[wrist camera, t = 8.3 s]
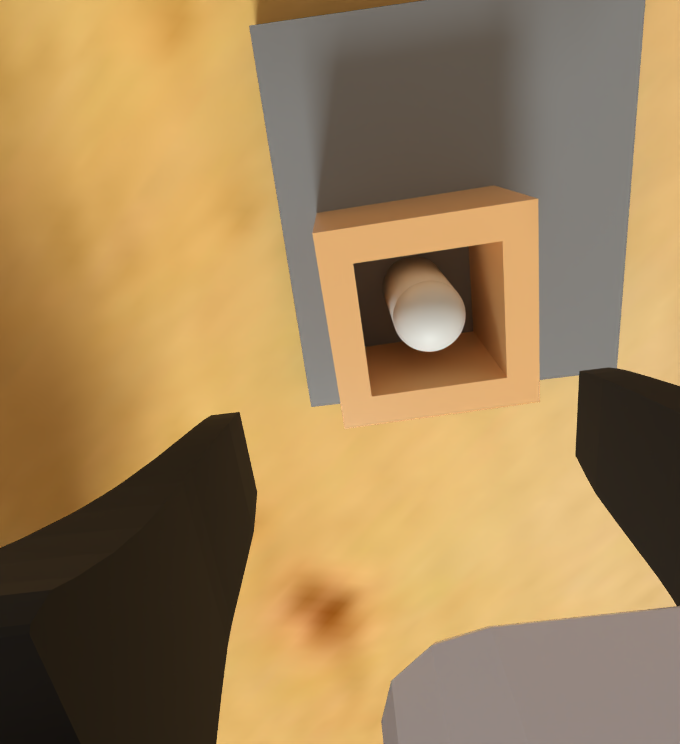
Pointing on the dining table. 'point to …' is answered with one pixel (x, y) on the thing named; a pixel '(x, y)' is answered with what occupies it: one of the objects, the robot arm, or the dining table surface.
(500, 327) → the orange loop
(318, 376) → the hook board
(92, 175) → the dining table surface
